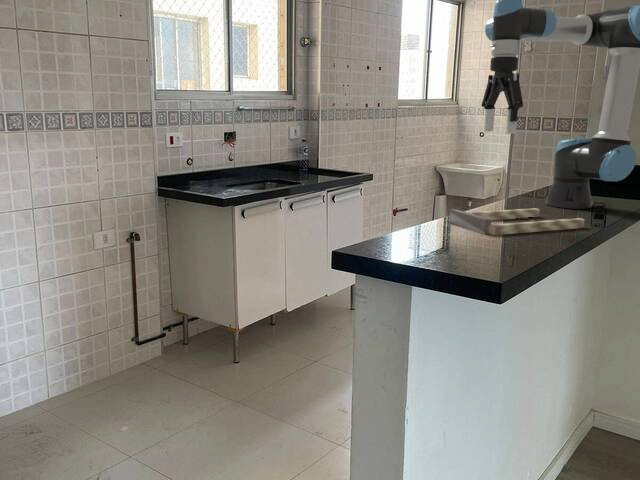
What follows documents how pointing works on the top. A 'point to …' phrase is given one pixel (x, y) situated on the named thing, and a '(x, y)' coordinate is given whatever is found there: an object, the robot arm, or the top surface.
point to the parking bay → (483, 223)
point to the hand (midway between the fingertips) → (499, 132)
